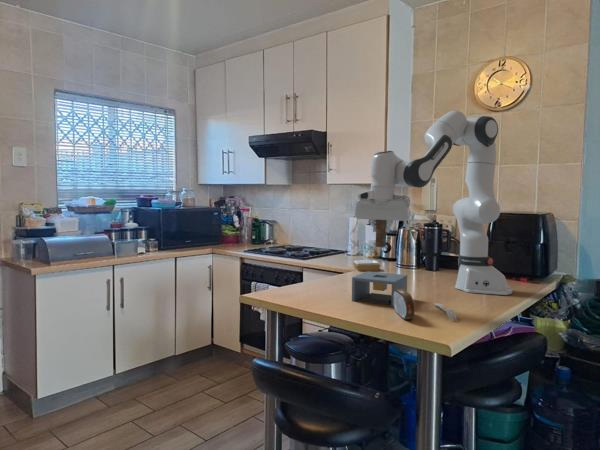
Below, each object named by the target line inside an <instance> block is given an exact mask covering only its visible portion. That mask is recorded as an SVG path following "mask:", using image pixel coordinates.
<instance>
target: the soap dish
mask: <svg viewBox="0 0 600 450" xmlns="http://www.w3.org/2000/svg"><path fill="white" fill-rule="evenodd" d="M352 265H353V267H354V269H355V270H356V271H357V272H367V271H370V272H378V271H379V270H380V268H381V264H380V262H379V261H377V260H374V259H369V260H368V259H367V260H366V259H362V260H361V259H360V260H354V261H353V262H352Z"/></svg>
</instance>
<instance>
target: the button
mask: <svg viewBox="0 0 600 450" xmlns="http://www.w3.org/2000/svg"><path fill="white" fill-rule="evenodd" d="M372 290H373V291H379V292H384V291H387V290H388V284H383V283H374V282H372Z"/></svg>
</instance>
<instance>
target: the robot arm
mask: <svg viewBox="0 0 600 450" xmlns="http://www.w3.org/2000/svg"><path fill="white" fill-rule="evenodd" d="M498 133H499V125H498V122H497V121H496V119H495V118H494V117H492V116H487V115H483V116H472V117H466V115H465V114H464V113H463V112H461V111H459V110H450V111H448V112H446V113H445V114H444V115H442V116H441V117H439V118H438V119H437V120H436V121H435V122H434V123H432V125H430V127H429V128H428V129H426V131H425V133H424V142H425V145H426V147H427V148H428V151H427V152H426V153H425V154H424V155H423V156H422V157H420V158H417V159H411V160H403V159H402V158H400V157H398V156H397V154H395V152H394V151H393V150H385V151H379V152H378V151H377V152H376V153H374V154H373V156H372V159H371V166H370V169H371V170H370V177H371V183H370V189H368V190H366V191H363V192H361V193H358V194H357V201H356V203H355V211H354V216H355V219H357V220H369V221H370V222H369V223H370V224H371V227H372V231H373V233H376V220H387V228H385V229H384V230H385V231H384V232H385V233H386V234H388V233H390V231H391V227H392V226H393V224H394V221H397V222H398V221H399V222H407V221H408V220H410V206H411V199H410V197H408V196H407V195H405V194H404V195H401V194H395V191H396V189H395V188H396V187H399V188H401V187H404V188H407V187H410V188H418V189H419V188H423V187H425V186H427V185H428V184H429V183H430V181H431V179H432V177H433V175H434V173H435V170H436V169H437V168H438V166H440V164H441V163H442V162H443V161H444V159H445V158H446V157H447V155H448V154H449V153H450V151H451V150H452V147H453V146H456V147H460V146H468V148H469V152H468V156H467V163H466V171H465V179H464V181H465V184H466V186H467V189H468V196H466V197H462V198H459V199H458V200H457V201H455V202H454V204H453V205H452V214H453V215H454V217H455V219H456V221H457V227H458V231H459V239H460V240H459V254H458V259H457V261H458V263H457V266H458V273H457V277H456V282H455V285H454V288H455V289H457V290H461V291H463V292H466V293H473V294H486V295H500V296H502V295H503V296H508V295H509V296H510V295H511V294H513V288H512V287H509V286H508V282H507V279H506V276H505V275H504V274H503V273H502V272H501V271H499V270H498V269H497V268H495V267H494V266H493V264H494V259H493V258H492V257H490V256H489V237H488V235H487V233H486V231H485V229H484V225H486V224H490V223H494V222H495V221H497V220H498V219H499V217H500V214H501V207H500V204H499V203H498V201H497V200H496V194H495V189H494V180H495V172H496V163H497V161H496V160H497V148H496V147H497V146H496V142H495V141H496V138H497V136H498Z"/></svg>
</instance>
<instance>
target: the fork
mask: <svg viewBox="0 0 600 450" xmlns="http://www.w3.org/2000/svg"><path fill="white" fill-rule="evenodd" d="M433 305H435V306H437V307H438V308H440V309H441V310H442V311H444V312H445V313H446V314H447V316H448V318H449V320H450V321H453V322H455V321H456V322H458V321H457V317H456V316H457V315H456V313H455V311H454V309H446V308H444V306H443V304H442V303H437V302H436V303H435V302H434V303H433Z"/></svg>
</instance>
